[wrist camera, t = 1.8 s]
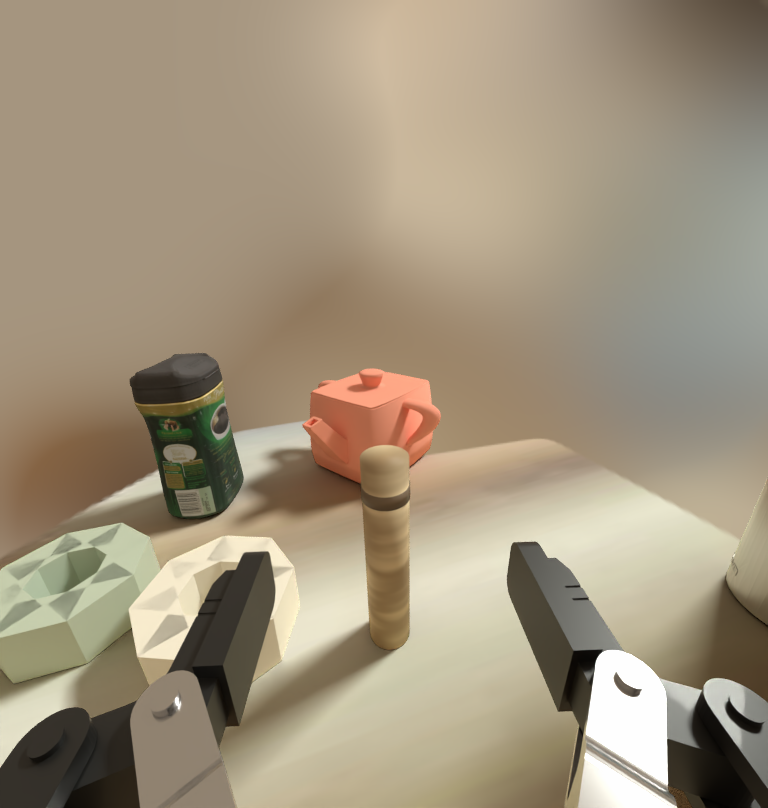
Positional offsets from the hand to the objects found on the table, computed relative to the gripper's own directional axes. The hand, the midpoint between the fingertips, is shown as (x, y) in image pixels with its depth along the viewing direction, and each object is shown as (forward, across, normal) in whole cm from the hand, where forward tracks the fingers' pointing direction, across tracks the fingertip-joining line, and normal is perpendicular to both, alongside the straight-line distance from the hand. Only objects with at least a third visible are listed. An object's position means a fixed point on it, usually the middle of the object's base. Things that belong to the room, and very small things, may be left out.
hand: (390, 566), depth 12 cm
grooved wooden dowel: (+11, 0, +18) cm, 21 cm away
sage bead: (+14, +26, +18) cm, 35 cm away
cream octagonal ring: (+12, +13, +18) cm, 26 cm away
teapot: (+37, +2, +18) cm, 41 cm away
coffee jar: (+30, +22, +18) cm, 42 cm away
